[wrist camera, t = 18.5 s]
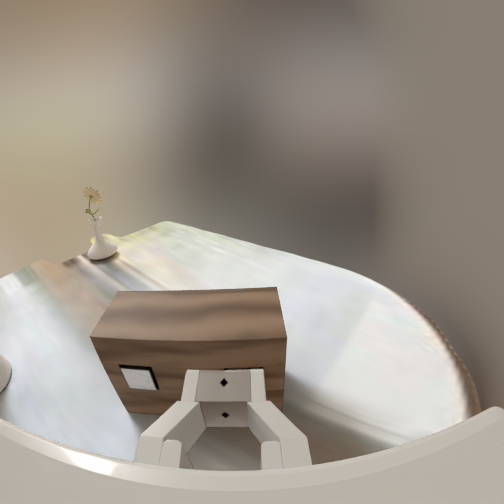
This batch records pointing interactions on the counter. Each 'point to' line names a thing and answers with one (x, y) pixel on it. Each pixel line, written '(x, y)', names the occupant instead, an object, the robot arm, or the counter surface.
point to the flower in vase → (98, 230)
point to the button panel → (190, 340)
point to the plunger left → (139, 377)
